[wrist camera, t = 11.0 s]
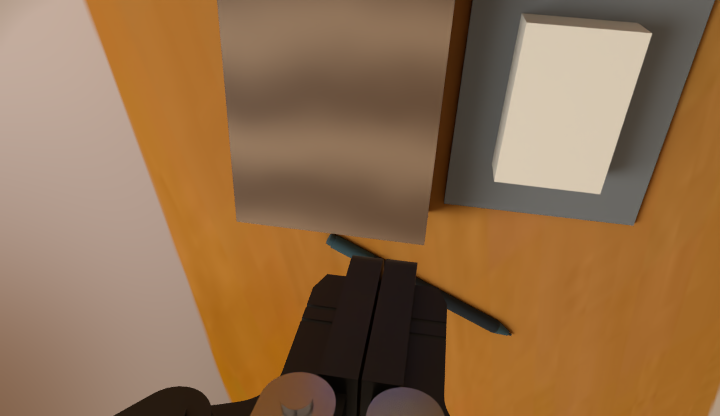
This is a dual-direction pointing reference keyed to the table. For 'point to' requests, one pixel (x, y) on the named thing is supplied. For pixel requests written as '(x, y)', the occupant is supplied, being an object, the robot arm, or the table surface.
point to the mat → (640, 127)
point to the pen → (452, 303)
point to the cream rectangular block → (567, 100)
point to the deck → (335, 112)
